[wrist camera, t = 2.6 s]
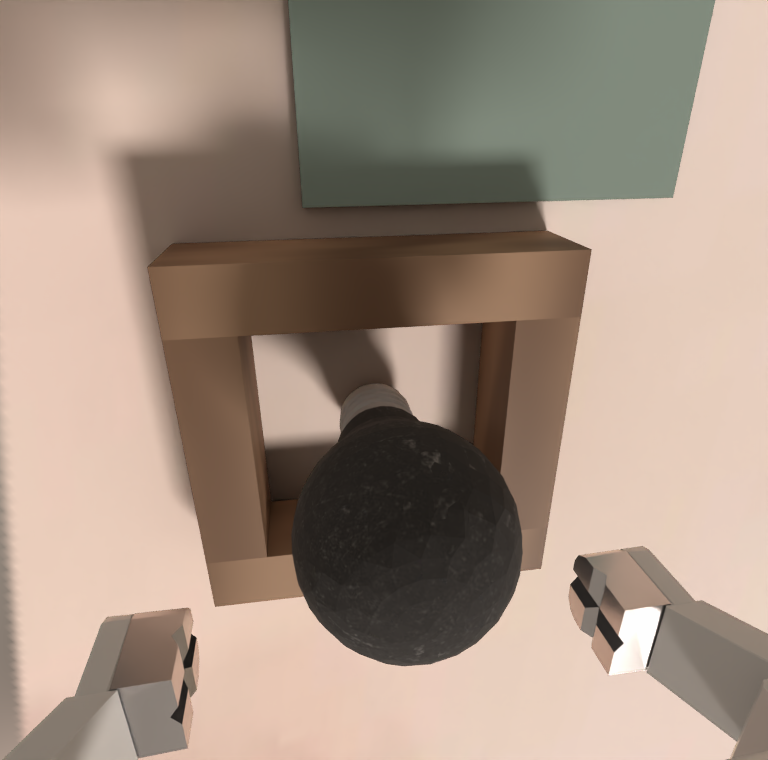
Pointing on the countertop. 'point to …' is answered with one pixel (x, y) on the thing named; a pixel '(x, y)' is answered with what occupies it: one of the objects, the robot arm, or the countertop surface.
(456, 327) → the countertop surface
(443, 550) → the light bulb
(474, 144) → the rubber mat
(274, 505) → the socket block
